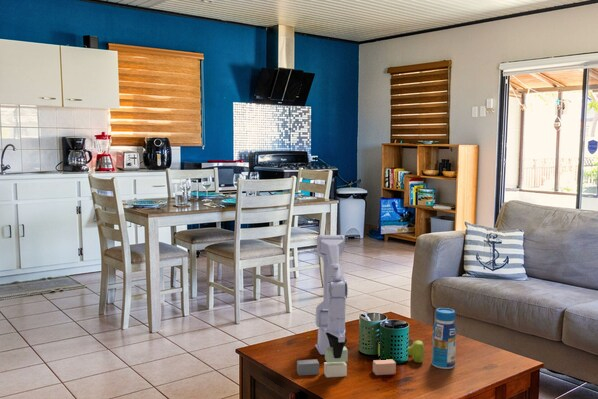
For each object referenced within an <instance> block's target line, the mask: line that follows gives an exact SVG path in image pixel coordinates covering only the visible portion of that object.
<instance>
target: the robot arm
mask: <svg viewBox="0 0 598 399" xmlns="http://www.w3.org/2000/svg"><path fill="white" fill-rule="evenodd" d="M345 244H346V243H345V236H344V235H343V234H318V235H317V237H316V254H317V256H318V257H320V258H321V259H322V262H323V273H322V274H323V275H322V276H323V277H322V279H323V284H322V285H323V286H322V287H323V292H322V293H323V295H322V296H323V298H322V299H323V300H322V301H321V302H320V303H319V304H317V306H316V308H315V326H316V327H317V328H318V329H317V344H315V345H314V346H315V348H316V350H317V352H318V353H319V355H325V348H326V347H333V355H334V358H341V355H342V351H343V348H344V346H346V343H348V342H347V341H348V338H347V337H346V306H347V305H346V303H347V302H346V299H348V295H349V294H348V293H349V290H348V289H349V288H348V282H347V280H346V278H345V273H344V268H343V266H342V265H340V257H342V255H343V253H344V251H345V246H346V245H345Z"/></svg>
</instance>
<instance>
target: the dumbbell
mask: <svg viewBox="0 0 598 399" xmlns="http://www.w3.org/2000/svg"><path fill="white" fill-rule="evenodd" d="M379 343H380V342H379V341H378V345H377V355H378V357H379V356H380V344H379ZM407 356H411V358H412V360H413V362H415V363H422V362H423V361H424V359H425V358H424V357H425V344H424V342H423V341H422V340H419V339H418V340H415V341H413V343H412V345H410V346H408V355H407Z"/></svg>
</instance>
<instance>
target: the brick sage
mask: <svg viewBox="0 0 598 399" xmlns="http://www.w3.org/2000/svg"><path fill="white" fill-rule="evenodd" d="M348 353H349V350H348V348H347V347H346V345H344V348H343V351H342V355H341V358H334V355H333V347H326V348H325V354H324V360H325V361H326V362H327V363H332V362H345V363H346V362H347V363H348V361H349V360H348V358H349V357H348V355H349V354H348Z"/></svg>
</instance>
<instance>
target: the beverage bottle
mask: <svg viewBox="0 0 598 399" xmlns="http://www.w3.org/2000/svg"><path fill="white" fill-rule="evenodd" d="M434 317H435V322H434V324H433V326H432V331H433V332H432V333H431V337H432V350H431V365H432V366H433V367H435V368H438V369H443V370H449V369H453V368H455V366H456V347H457V342H456V341H457V340H458V337H457V334H456V333H457V326H456V324H455V320H456V311H455V309H452V308H448V307H438V308H436V309H435V316H434Z"/></svg>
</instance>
